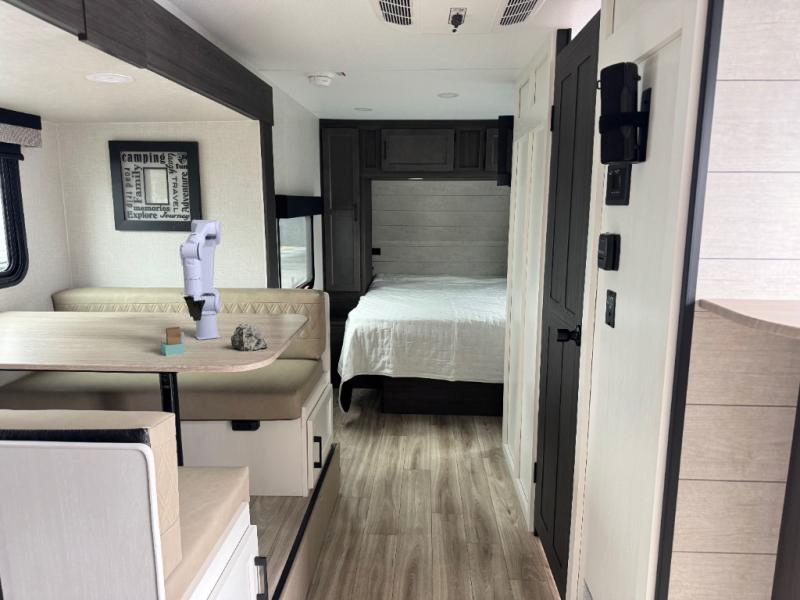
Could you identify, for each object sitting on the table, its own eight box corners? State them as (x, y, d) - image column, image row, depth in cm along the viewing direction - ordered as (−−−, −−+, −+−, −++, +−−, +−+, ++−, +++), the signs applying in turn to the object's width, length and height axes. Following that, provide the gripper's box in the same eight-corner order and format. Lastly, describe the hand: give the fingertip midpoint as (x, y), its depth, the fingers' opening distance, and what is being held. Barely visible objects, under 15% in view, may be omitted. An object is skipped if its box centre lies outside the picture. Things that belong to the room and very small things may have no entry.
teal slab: (161, 353, 175) (160, 342, 175) (180, 350, 179) (180, 340, 178) (166, 356, 171) (165, 346, 170) (185, 354, 174) (184, 343, 174)
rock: (233, 359, 173) (251, 335, 172) (221, 340, 179) (238, 318, 178) (262, 366, 184) (279, 344, 183) (249, 348, 190) (266, 327, 188)
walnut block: (166, 342, 175) (165, 327, 174) (179, 341, 177) (178, 326, 176) (168, 345, 172) (167, 330, 171) (181, 343, 174) (180, 328, 173)
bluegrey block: (168, 347, 182) (167, 332, 181) (179, 344, 185) (178, 331, 184) (174, 349, 180) (173, 334, 179) (185, 346, 183) (184, 332, 182)
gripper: (177, 276, 181) (179, 315, 184) (183, 282, 169) (185, 323, 171) (199, 275, 185) (201, 313, 187) (206, 280, 172) (208, 321, 174)
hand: (195, 318), depth 179 cm, fingers open, 7 cm apart
